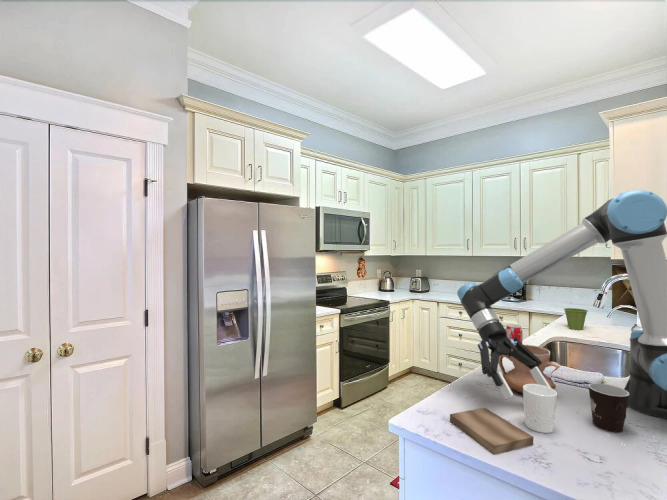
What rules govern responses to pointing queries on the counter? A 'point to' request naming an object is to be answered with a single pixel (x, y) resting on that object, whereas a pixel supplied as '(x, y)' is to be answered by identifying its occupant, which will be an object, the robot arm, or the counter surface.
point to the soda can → (514, 332)
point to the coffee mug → (608, 406)
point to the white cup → (539, 407)
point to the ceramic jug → (526, 369)
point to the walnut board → (491, 430)
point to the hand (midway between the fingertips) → (528, 394)
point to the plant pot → (575, 318)
